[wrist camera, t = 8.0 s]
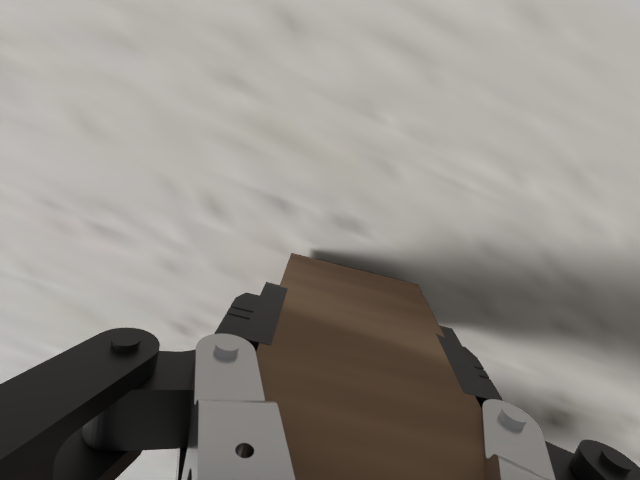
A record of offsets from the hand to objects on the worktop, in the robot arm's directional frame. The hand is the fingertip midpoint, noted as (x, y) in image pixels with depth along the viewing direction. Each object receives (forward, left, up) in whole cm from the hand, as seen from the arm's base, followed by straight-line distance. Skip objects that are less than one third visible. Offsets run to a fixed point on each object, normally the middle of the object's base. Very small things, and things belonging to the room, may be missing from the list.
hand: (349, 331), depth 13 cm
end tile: (0, 0, -3) cm, 3 cm away
